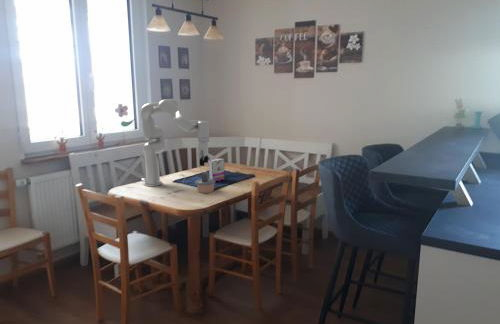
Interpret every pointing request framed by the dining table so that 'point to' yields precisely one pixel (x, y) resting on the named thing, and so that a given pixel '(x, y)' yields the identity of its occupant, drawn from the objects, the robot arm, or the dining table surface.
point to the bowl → (205, 188)
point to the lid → (205, 180)
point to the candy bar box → (216, 169)
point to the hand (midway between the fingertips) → (203, 164)
